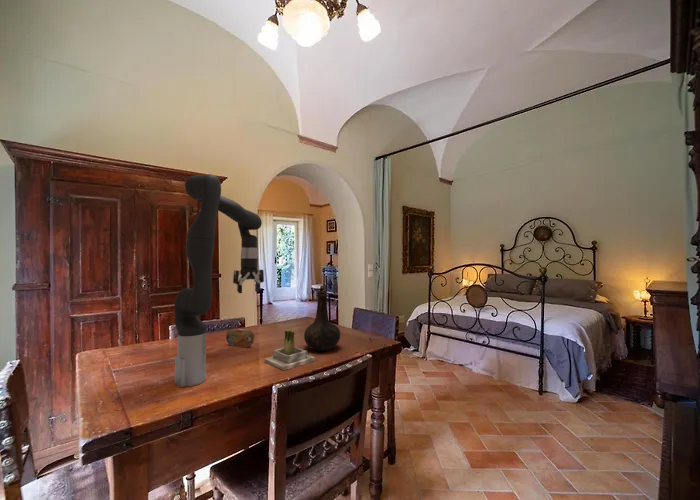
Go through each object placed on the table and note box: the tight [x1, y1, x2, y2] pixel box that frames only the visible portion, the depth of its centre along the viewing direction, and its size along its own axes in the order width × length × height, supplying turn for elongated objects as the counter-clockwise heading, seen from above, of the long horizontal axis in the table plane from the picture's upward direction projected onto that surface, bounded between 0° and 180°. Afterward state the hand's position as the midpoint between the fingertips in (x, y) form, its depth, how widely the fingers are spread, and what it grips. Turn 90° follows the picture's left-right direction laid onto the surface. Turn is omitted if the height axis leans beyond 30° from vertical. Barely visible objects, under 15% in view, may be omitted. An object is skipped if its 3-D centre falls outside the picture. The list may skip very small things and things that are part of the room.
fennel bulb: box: [283, 329, 296, 355], centre depth 131 cm, size 6×5×12 cm
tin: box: [225, 328, 255, 348], centre depth 153 cm, size 15×3×8 cm, turn 73°
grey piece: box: [264, 346, 316, 371], centre depth 131 cm, size 16×14×4 cm
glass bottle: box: [303, 290, 341, 352], centre depth 150 cm, size 18×18×28 cm
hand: (248, 292), depth 142 cm, fingers open, 8 cm apart
